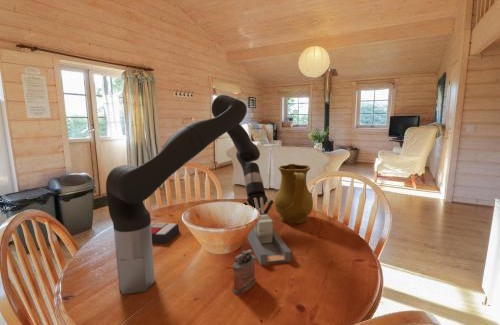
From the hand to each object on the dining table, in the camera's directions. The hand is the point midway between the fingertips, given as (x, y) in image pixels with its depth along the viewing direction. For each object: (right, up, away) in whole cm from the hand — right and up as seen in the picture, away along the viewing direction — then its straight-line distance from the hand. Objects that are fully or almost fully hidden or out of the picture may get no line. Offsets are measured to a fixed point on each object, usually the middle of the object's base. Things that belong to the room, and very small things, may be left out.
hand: (262, 224), depth 103 cm
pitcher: (+15, -2, +19) cm, 24 cm away
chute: (+1, -6, -4) cm, 7 cm away
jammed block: (0, -4, -3) cm, 6 cm away
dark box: (-42, -6, +3) cm, 42 cm away
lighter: (-6, -10, -29) cm, 32 cm away
